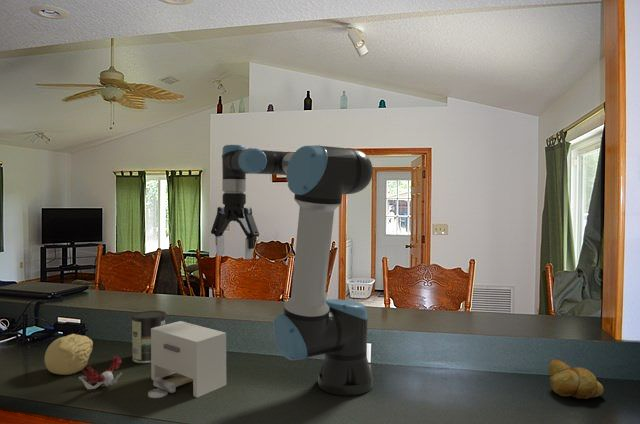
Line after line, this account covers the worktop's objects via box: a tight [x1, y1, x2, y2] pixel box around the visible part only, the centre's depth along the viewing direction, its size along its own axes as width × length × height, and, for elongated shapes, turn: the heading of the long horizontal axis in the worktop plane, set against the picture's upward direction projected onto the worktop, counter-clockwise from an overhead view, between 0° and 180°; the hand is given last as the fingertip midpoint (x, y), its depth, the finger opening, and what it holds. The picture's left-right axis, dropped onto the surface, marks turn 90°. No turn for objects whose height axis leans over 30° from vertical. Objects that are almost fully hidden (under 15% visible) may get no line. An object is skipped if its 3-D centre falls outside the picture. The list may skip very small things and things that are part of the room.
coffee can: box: [131, 310, 167, 364], centre depth 150 cm, size 10×10×14 cm
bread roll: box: [548, 359, 604, 400], centre depth 123 cm, size 13×10×8 cm
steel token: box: [147, 387, 169, 399], centre depth 123 cm, size 5×5×1 cm
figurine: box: [78, 354, 123, 390], centre depth 128 cm, size 15×12×7 cm
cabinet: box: [150, 320, 227, 398], centre depth 130 cm, size 20×11×14 cm, turn 54°
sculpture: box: [44, 333, 94, 376], centre depth 138 cm, size 12×12×11 cm
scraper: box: [152, 374, 193, 394], centre depth 132 cm, size 8×18×10 cm, turn 143°
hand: (234, 257), depth 154 cm, fingers open, 13 cm apart
